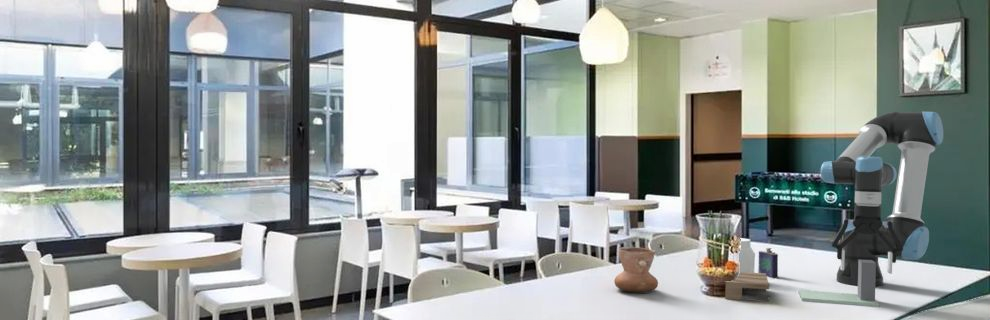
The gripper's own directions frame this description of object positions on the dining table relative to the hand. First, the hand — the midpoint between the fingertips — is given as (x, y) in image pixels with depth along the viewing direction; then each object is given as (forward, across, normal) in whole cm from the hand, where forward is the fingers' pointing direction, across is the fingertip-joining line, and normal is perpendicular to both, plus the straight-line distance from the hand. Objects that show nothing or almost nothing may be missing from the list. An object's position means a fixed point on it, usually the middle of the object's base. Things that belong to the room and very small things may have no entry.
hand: (865, 271), depth 225 cm
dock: (+10, -36, -2) cm, 37 cm away
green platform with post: (+10, -8, +1) cm, 13 cm away
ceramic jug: (+11, -71, -10) cm, 73 cm away
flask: (+10, -27, +36) cm, 46 cm away
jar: (+10, -38, +22) cm, 45 cm away
